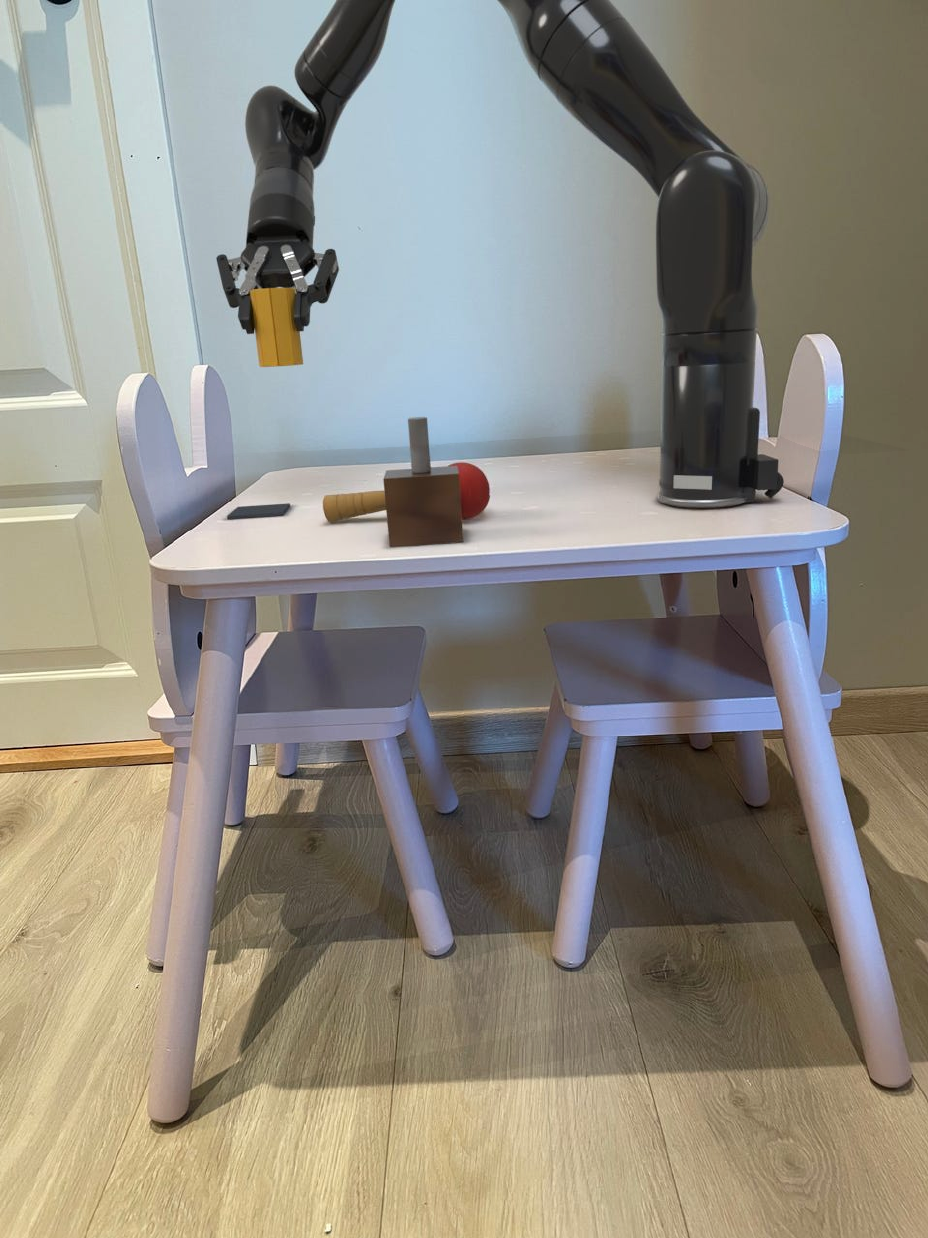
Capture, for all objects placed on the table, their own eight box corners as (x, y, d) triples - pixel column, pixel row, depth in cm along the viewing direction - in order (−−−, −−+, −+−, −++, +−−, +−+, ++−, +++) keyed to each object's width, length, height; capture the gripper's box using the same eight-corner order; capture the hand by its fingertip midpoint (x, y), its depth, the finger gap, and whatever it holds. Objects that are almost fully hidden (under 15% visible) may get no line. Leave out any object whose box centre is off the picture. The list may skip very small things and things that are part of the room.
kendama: (319, 543, 87) (486, 516, 83) (308, 483, 86) (476, 452, 82) (344, 539, 94) (499, 513, 90) (334, 483, 93) (489, 455, 89)
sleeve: (309, 363, 95) (301, 288, 92) (289, 365, 90) (280, 287, 88) (273, 365, 96) (264, 291, 93) (252, 367, 92) (242, 290, 89)
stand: (461, 530, 83) (454, 413, 79) (463, 542, 78) (455, 417, 74) (391, 535, 83) (381, 417, 79) (389, 547, 78) (378, 422, 74)
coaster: (290, 506, 101) (289, 503, 101) (282, 515, 96) (282, 512, 96) (238, 509, 101) (237, 506, 101) (227, 519, 96) (226, 515, 96)
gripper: (211, 194, 94) (197, 303, 87) (337, 187, 94) (333, 296, 87) (230, 249, 101) (218, 355, 93) (347, 243, 101) (344, 348, 93)
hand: (273, 326), depth 90 cm, fingers closed on sleeve, 5 cm apart
